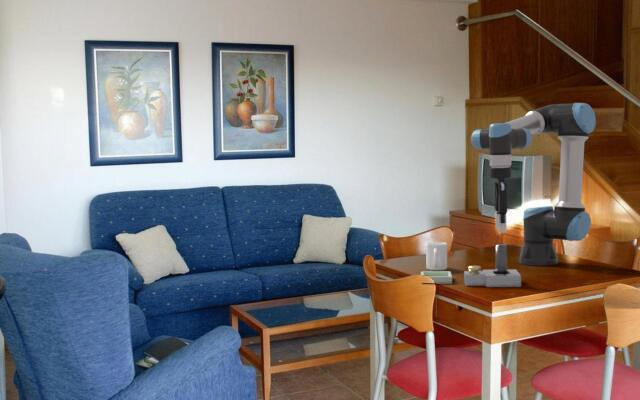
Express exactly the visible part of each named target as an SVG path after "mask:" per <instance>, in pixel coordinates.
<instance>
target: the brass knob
mask: <svg viewBox="0 0 640 400" xmlns="http://www.w3.org/2000/svg"><path fill="white" fill-rule="evenodd" d="M467 267H468V268H467V271H471V274H478V271H482V266H480V265H469V266H468V265H467Z"/></svg>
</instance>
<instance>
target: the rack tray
mask: <svg viewBox="0 0 640 400" xmlns="http://www.w3.org/2000/svg"><path fill="white" fill-rule="evenodd" d="M421 275H425V276H428V277H430V278H432V279H433V280H434V281H435V283H436V284H437V285H438V284H439V285H440V284H441V285H443V284H444V285H447V284H448V285H449V284H450V285H452V284H453V276H452V272H451V271H450V270H449V271H447V270H446V271H445V270H428V271H420V276H421ZM436 284H435V285H436Z"/></svg>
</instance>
